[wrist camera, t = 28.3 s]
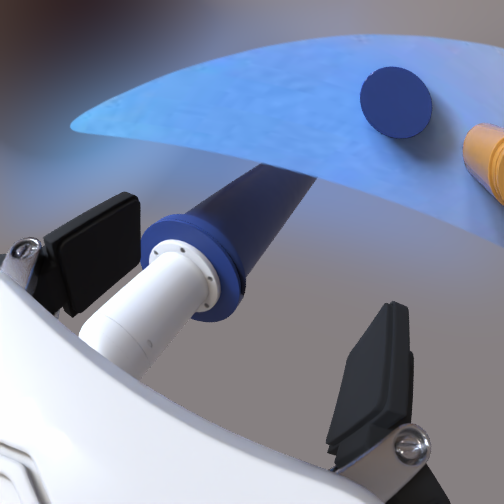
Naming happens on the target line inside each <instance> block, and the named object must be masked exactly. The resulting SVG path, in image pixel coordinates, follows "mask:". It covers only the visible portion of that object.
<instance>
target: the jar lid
mask: <svg viewBox="0 0 504 504" xmlns="http://www.w3.org/2000/svg"><path fill="white" fill-rule="evenodd" d="M360 103H361V108H362V111H363V113H364V115H365V117H366V119H367V120H368V122H369V123H370V124H371V125H372V126H373V127H374V128H375V129H376V130H377V131H379V132H380V133H381V134H384V135H386V136H389V137H392V138H399V139H403V138H410V137H413V136H415V135H417V134H418V133H420V132H421V131H422V130H423V129H424V128H425V127H426V126H427V124H428V122H429V120H430V118H431V114H432V101H431V97H430V94H429V91H428V89H427V87H426V86H425V84H424V83H423V82H422V81H421V80H420V79H419V78H418V77H417V76H416V75H415V74H413V73H412V72H410V71H408V70H406V69H403V68H399V67H384V68H381V69H378V70H376V71H374V72H373V73H371V74H370V75H369V76H368V77H367V79H366V80H365V81H364V83H363V85H362V88H361V93H360Z"/></svg>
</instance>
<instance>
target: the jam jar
mask: <svg viewBox="0 0 504 504" xmlns="http://www.w3.org/2000/svg"><path fill="white" fill-rule="evenodd" d="M463 158H464V162H465V165H466V167H467V169H468V171H469V172H470V174H471V175H472V176H473V177H474V178H475V179H476V180H477V181H478V182H480V183H481V184H482V185H483V186H484V187H485V188H486V189H487V190H488V191H489V192H490V193H491V194H492V195H493V196H494V197H495V198H496V199H497V200H498V201H499V202H500V203H501V204H502V205H503V206H504V128H503V127H500V126H497V125H493V124H490V123H481V124H478V125H476V126H474V127H473V128H472V129H471V130H470V131H469V132H468V133H467V135H466V137H465V140H464V144H463Z"/></svg>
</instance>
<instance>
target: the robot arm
mask: <svg viewBox="0 0 504 504" xmlns="http://www.w3.org/2000/svg"><path fill="white" fill-rule="evenodd" d="M43 238H44V243H45V246H43V247H42V246H41V242H40V241H39V240H38V239H37V238H32V237H28V238H23V239H20V240H18V241H17V242H15V243H14V244H13V245H12V246H11V247H10V249H9V250H8V252H7V254H0V504H450V501H449V499H448V497H447V496H446V494H445V492H444V491H443V489H442V488H441V486H440V484H439V483H438V481H437V479H436V478H435V476H434V475H433V473H432V472H431V470H430V468H429V467H428V466H427V464H426V462H427V461H428V459H429V457H430V454H431V442H430V438H429V436H428V435H427V433H426V431H424V430H423V429H422V428H421V427H420V426H418V425H416V424H411V415H412V402H413V376H414V357H413V353H412V352H411V351H410V346H409V345H410V338H409V311H408V308H407V307H406V306H404V305H402V304H399V303H397V302H395V301H392V302H391V303H390V304H388V303H385V304H384V305H383V307H382V308H381V310H380V311H379V313H378V314H377V316H376V317H375V318H374V320H373V322H372V323H371V324H370V326H369V327H368V329H367V330H366V331H365V333H364V334H363V336H362V337H361V338H360V340H359V341H358V343H357V344H356V345H355V347H354V348H353V349H352V351H351V352H350V354H349V356H348V358H347V361H346V366H345V370H344V375H343V379H342V383H341V387H340V392H339V396H338V399H337V404H336V407H335V411H334V414H333V418H332V422H331V425H330V429H329V432H328V435H327V439H326V444H328V445H329V449H328V452H327V453H329V454H332V455H336V458H335V464H336V465H335V466H333V467H332V468H330V469H329V470H326V469H324V468H321V467H318V466H315V465H312V464H310V463H307V462H305V461H302V460H299V459H296V458H294V457H291V456H288V455H286V454H283V453H280V452H278V451H275V450H273V449H270V448H268V447H265V446H263V445H261V444H258V443H256V442H254V441H251V440H249V439H247V438H245V437H242V436H240V435H238V434H236V433H233V432H231V431H229V430H227V429H225V428H223V427H221V426H218V425H216V424H214V423H212V422H210V421H208V420H206V419H204V418H203V417H200V416H199V415H197V414H195V413H193V412H191V411H189V410H187V409H185V408H184V407H182V406H180V405H178V404H177V403H175V402H173V401H171V400H170V399H168V398H166V397H165V396H163V395H161V394H160V393H158V392H156V391H155V390H153V389H151V388H150V387H148V386H147V385H145V384H143V383H142V382H140V379H141V378H142V377H143V375H144V374H145V373H146V372H147V371H148V369H149V368H150V367H151V366H152V364H153V363H154V362H155V361H156V359H157V358H158V357H159V356H160V355H161V353H162V352H163V351H164V350H165V348H166V347H167V346H168V344H169V343H170V342H171V341H172V340H173V339H174V337H175V336H176V335H177V334H178V333H179V331H180V330H181V329H182V328H183V326H184V325H185V324H186V323H187V322H188V320H189V319H190V318H191V317H192V316H193V314H194V313H195V312H205V311H207V310H210V309H211V308H212V307H213V306H214V305H215V304H216V303H217V301H218V299H219V297H220V293H221V285H220V281H219V277H218V275H217V272H216V270H215V269H214V267H213V265H212V264H211V262H210V261H209V260H208V259H207V258H206V256H205V255H203V254H202V253H201V252H200V251H199V250H198V249H196V248H195V247H193V246H192V245H190V244H188V243H186V242H183V241H180V240H173V239H171V240H165V241H163V242H160V243H159V244H158V245H156V246H155V247H154V248H153V250H152V252H151V254H150V258H149V266H148V267H146V268H145V269H144V270H143V271H142V272H141V273H139V274H138V275H137V276H136V277H135V278H134V279H133V280H131V281H130V282H129V283H128V284H127V285H126V286H125V287H123V288H122V289H121V290H120V291H119V292H118V293H116V294H115V295H114V296H113V297H112V298H111V299H110V300H109V301H108V302H106V303H105V304H104V305H103V306H102V307H101V308H100V309H99V310H98V311H97V312H96V313H94V314H93V315H92V316H91V317H90V318H89V319H88V320H87V321H86V322H85V324H84V325H83V326H82V328H81V331H80V333H79V337H78V336H77V335H75V334H74V333H73V332H72V331H70V330H69V329H68V328H67V327H66V326H64V325H63V324H62V323H61V322H60V321H59V320H58V317H59V311H60V308H62V307H63V308H64V311H65V312H66V313H67V314H69V315H70V316H71V317H72V318H73V317H74V316H76V315H77V314H78V313H82V312H83V311H84V310H85V309H87V308H88V307H89V306H90V305H91V304H92V303H93V302H94V301H96V300H97V299H98V298H99V297H100V296H101V295H102V294H104V293H105V292H106V291H107V290H108V289H110V288H111V287H112V286H113V285H114V284H115V283H117V282H118V281H119V280H120V279H121V278H122V277H124V276H125V275H126V274H127V273H128V272H130V271H131V270H132V269H133V268H134V267H136V266H137V265H138V264H139V262H140V260H141V233H140V202H139V200H138V197H137V196H135V195H132V194H130V193H128V192H122V193H120V194H118V195H116V196H114V197H112V198H110V199H108V200H106V201H104V202H103V203H101V204H99V205H97V206H95V207H93V208H92V209H90V210H88V211H86V212H84V213H83V214H81V215H79V216H78V217H76V218H74V219H72V220H71V221H69V222H67V223H66V224H64V225H62V226H61V227H59V228H58V229H56V230H54V231H52V232H51V233H49V234H48V235H46V236H44V237H43Z"/></svg>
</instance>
